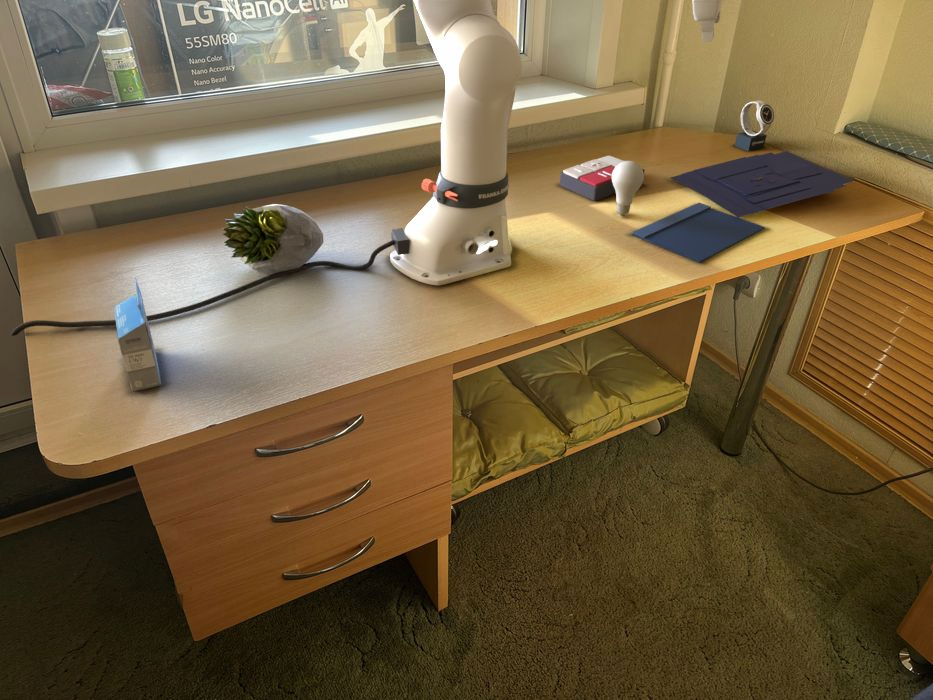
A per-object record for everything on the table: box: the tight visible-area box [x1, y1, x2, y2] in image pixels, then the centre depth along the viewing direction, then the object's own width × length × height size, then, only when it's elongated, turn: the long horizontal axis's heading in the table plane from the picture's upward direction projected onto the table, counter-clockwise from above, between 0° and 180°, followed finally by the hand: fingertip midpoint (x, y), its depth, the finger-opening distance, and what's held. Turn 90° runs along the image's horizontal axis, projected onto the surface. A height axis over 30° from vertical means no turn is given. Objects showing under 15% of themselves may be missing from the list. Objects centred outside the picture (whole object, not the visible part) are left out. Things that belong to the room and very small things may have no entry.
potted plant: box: [222, 203, 324, 276], centre depth 118 cm, size 12×13×15 cm
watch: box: [734, 100, 775, 152], centre depth 174 cm, size 6×8×11 cm
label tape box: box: [113, 275, 162, 392], centre depth 93 cm, size 9×4×12 cm, turn 25°
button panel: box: [559, 155, 646, 202], centre depth 154 cm, size 11×4×15 cm
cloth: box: [631, 202, 766, 264], centre depth 135 cm, size 22×15×1 cm
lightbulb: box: [612, 160, 645, 217], centre depth 139 cm, size 6×6×11 cm
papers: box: [669, 150, 856, 218], centre depth 152 cm, size 24×30×4 cm
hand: (711, 31), depth 125 cm, fingers open, 8 cm apart
